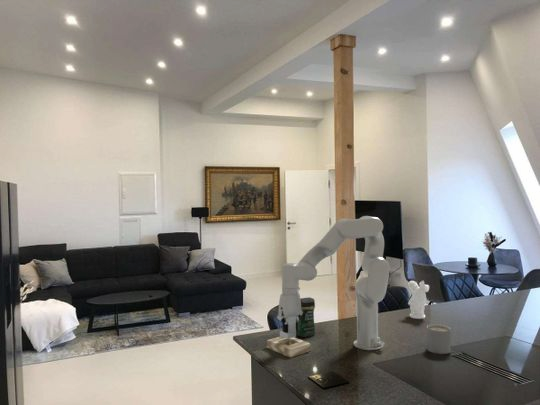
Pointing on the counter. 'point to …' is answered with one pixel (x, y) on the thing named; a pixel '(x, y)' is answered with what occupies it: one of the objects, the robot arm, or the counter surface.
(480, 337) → the counter surface
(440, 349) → the coffee mug
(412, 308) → the cherub figurine
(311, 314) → the coffee jar
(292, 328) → the bracket
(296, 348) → the block
